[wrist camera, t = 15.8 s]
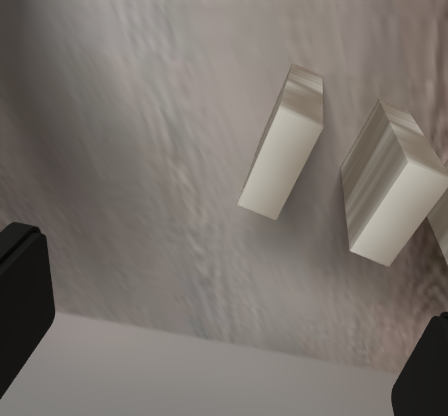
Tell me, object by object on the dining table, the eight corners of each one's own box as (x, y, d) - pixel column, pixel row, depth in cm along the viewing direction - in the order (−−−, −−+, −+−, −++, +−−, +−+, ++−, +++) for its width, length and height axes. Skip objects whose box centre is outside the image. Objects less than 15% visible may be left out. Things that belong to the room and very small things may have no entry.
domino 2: (340, 167, 28) (349, 251, 20) (378, 99, 26) (408, 162, 17) (367, 178, 28) (388, 266, 20) (408, 111, 26) (453, 180, 17)
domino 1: (262, 134, 28) (237, 204, 20) (292, 63, 26) (278, 108, 17) (289, 145, 28) (276, 220, 20) (322, 75, 26) (323, 127, 17)
